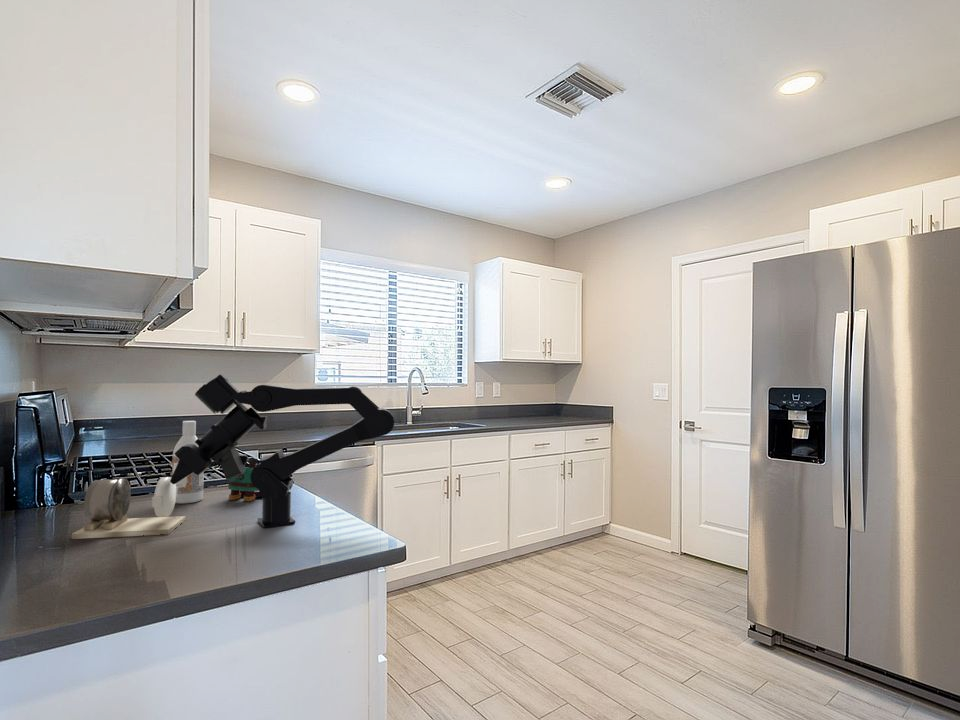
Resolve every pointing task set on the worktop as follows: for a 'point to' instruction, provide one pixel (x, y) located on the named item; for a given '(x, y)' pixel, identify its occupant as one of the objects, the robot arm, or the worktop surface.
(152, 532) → the birch board
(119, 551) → the worktop surface
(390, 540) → the worktop surface
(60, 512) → the worktop surface
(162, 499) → the white oval slab
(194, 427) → the bath foam
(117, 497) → the cylinder
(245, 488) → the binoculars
